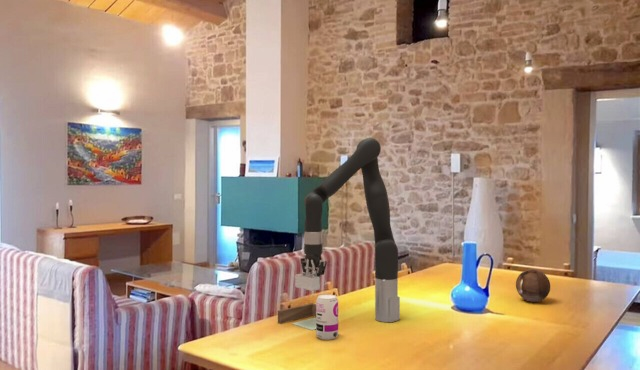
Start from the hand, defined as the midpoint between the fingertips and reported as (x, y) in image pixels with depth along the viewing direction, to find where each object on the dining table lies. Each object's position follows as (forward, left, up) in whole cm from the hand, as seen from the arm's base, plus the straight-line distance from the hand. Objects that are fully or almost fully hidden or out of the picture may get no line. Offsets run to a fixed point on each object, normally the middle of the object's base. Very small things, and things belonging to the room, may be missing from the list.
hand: (313, 284), depth 218 cm
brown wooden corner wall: (+1, +3, -15) cm, 16 cm away
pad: (-3, +3, -15) cm, 16 cm away
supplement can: (-19, +11, -15) cm, 27 cm away
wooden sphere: (-47, -96, -16) cm, 108 cm away
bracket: (-3, +3, 0) cm, 4 cm away
